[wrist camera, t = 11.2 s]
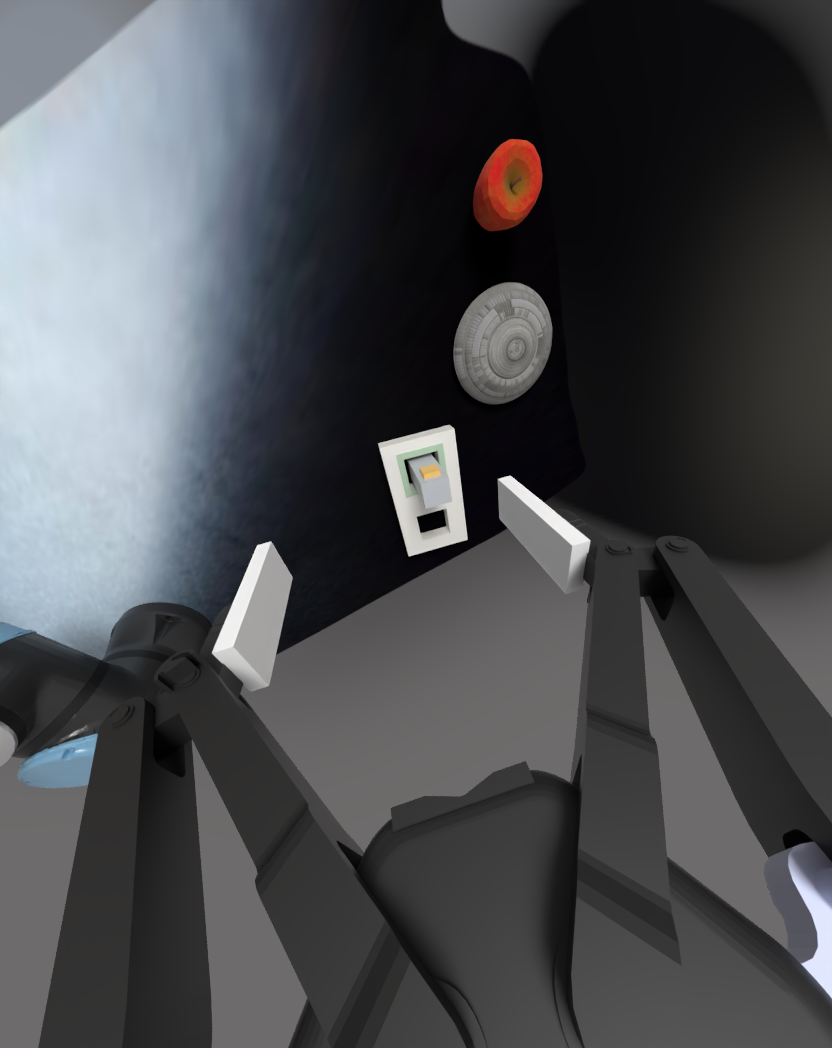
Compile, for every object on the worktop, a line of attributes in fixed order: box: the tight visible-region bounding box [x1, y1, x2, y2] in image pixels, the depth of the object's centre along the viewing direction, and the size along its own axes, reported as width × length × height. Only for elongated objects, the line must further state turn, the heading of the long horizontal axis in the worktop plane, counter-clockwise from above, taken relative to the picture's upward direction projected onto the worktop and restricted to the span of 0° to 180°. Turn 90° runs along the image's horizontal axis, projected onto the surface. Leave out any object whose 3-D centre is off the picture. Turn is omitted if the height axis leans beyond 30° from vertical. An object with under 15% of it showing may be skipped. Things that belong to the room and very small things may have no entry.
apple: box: [473, 139, 542, 231], centre depth 32 cm, size 6×6×8 cm
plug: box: [407, 453, 452, 509], centre depth 46 cm, size 4×5×11 cm
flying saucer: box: [454, 282, 552, 404], centre depth 41 cm, size 15×15×6 cm
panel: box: [378, 425, 468, 556], centre depth 52 cm, size 12×22×3 cm, turn 11°
